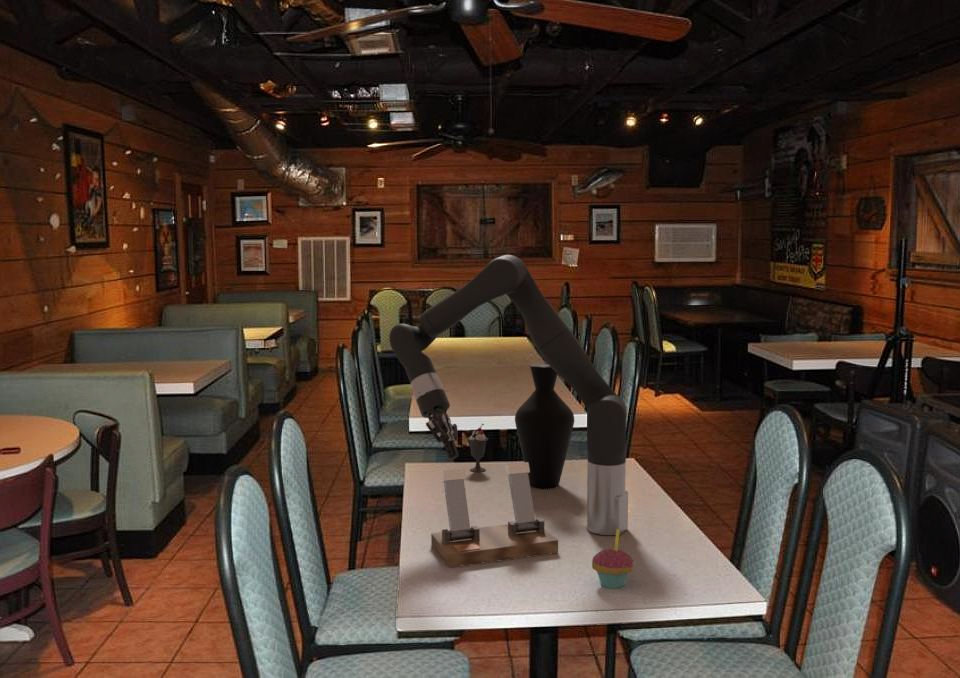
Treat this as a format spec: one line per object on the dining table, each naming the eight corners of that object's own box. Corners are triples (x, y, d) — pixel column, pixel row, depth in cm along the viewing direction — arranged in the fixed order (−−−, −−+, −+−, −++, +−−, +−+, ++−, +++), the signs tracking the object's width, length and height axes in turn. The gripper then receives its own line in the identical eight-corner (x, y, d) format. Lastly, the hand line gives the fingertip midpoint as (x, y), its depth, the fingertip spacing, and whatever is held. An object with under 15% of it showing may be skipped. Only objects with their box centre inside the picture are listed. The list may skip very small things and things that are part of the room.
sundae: (488, 473, 255) (488, 425, 253) (466, 473, 255) (466, 425, 253) (488, 467, 261) (488, 420, 260) (467, 467, 262) (467, 420, 260)
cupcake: (605, 572, 178) (606, 518, 176) (641, 582, 172) (642, 526, 171) (583, 585, 171) (584, 529, 170) (620, 596, 166) (621, 538, 164)
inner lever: (535, 530, 195) (524, 464, 200) (539, 529, 193) (528, 462, 198) (514, 533, 193) (504, 465, 198) (518, 532, 191) (507, 464, 196)
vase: (506, 479, 248) (506, 363, 244) (560, 474, 253) (560, 361, 249) (527, 496, 231) (527, 372, 227) (583, 490, 236) (584, 369, 232)
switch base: (534, 532, 202) (534, 510, 202) (558, 552, 189) (558, 528, 188) (431, 545, 194) (431, 522, 193) (448, 567, 181) (448, 542, 180)
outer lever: (470, 539, 190) (461, 470, 195) (473, 537, 188) (464, 468, 192) (449, 541, 188) (440, 472, 193) (451, 540, 186) (442, 470, 191)
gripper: (430, 405, 215) (453, 466, 209) (404, 398, 203) (429, 462, 197) (454, 391, 213) (478, 453, 207) (429, 383, 201) (455, 448, 195)
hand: (454, 457), depth 202 cm, fingers closed
